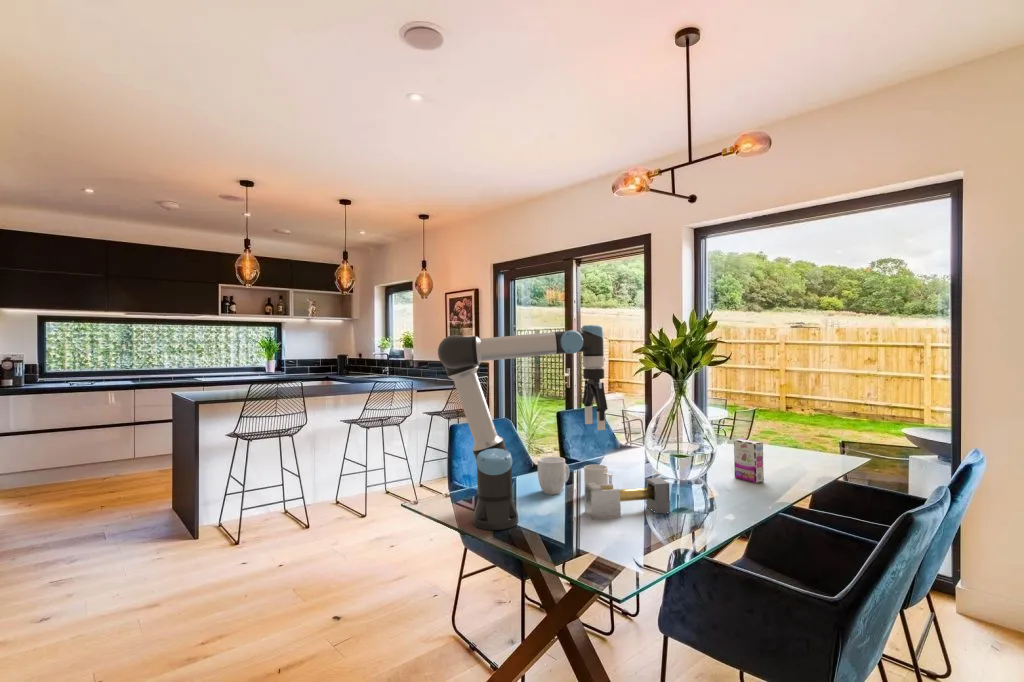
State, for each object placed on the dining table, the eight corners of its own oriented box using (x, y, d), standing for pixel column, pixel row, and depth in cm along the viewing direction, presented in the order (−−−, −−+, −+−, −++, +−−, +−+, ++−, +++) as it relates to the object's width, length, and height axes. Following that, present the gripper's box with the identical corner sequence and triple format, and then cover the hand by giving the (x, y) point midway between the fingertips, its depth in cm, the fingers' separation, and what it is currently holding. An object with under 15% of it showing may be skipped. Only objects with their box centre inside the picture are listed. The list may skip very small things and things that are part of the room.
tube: (602, 504, 183) (602, 492, 183) (598, 501, 187) (598, 489, 187) (663, 499, 187) (663, 488, 187) (658, 496, 191) (657, 485, 191)
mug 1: (559, 485, 223) (558, 453, 223) (578, 490, 215) (577, 457, 215) (532, 492, 214) (531, 459, 214) (551, 498, 205) (550, 463, 205)
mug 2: (579, 495, 207) (579, 467, 207) (595, 491, 213) (594, 463, 213) (603, 502, 198) (603, 472, 198) (619, 497, 204) (618, 468, 204)
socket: (656, 514, 184) (656, 484, 184) (646, 506, 192) (646, 478, 192) (670, 512, 185) (669, 483, 185) (659, 505, 193) (659, 477, 193)
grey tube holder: (592, 519, 180) (591, 489, 180) (584, 512, 188) (584, 482, 188) (620, 517, 182) (620, 486, 182) (612, 509, 190) (611, 480, 190)
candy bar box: (764, 482, 220) (763, 442, 220) (755, 483, 218) (755, 443, 218) (742, 476, 231) (741, 438, 231) (733, 477, 229) (733, 439, 229)
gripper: (616, 369, 182) (617, 431, 182) (592, 366, 207) (593, 421, 207) (595, 370, 181) (596, 433, 181) (573, 366, 205) (574, 422, 205)
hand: (594, 426), depth 194 cm, fingers open, 13 cm apart
